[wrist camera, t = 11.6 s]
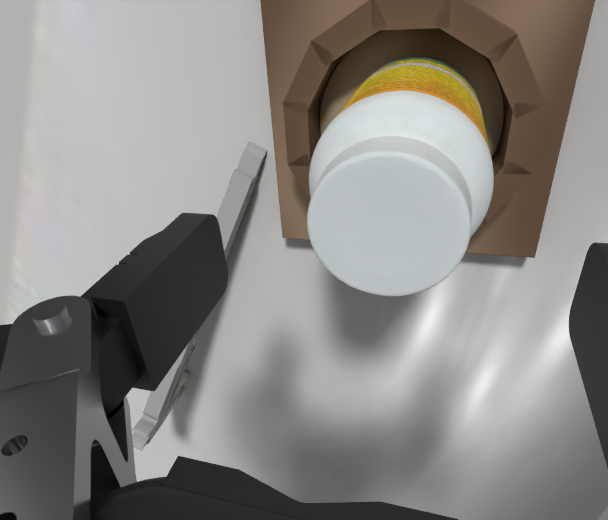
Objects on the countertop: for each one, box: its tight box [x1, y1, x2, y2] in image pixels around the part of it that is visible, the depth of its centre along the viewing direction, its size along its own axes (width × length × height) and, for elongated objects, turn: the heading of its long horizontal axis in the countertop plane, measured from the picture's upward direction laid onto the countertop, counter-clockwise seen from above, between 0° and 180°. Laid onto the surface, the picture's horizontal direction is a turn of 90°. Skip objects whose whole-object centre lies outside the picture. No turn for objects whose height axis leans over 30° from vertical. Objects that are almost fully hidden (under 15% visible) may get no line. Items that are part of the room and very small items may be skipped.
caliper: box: [132, 142, 267, 451], centre depth 27 cm, size 21×1×6 cm, turn 158°
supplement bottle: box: [307, 57, 494, 296], centre depth 15 cm, size 5×5×10 cm
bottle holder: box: [261, 0, 595, 258], centre depth 19 cm, size 12×12×3 cm
